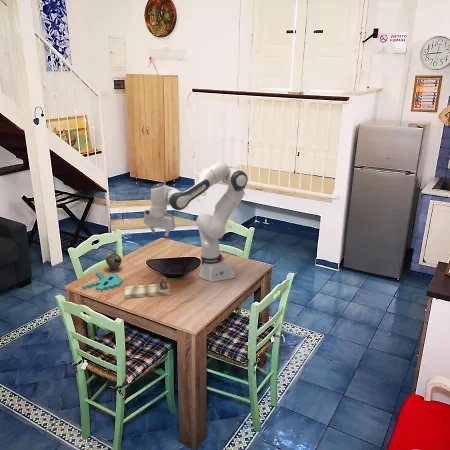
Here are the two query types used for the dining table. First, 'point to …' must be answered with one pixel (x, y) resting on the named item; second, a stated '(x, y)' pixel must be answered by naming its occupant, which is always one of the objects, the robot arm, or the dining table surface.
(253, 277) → the dining table surface
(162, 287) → the gauge
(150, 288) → the board
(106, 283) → the alien figure
